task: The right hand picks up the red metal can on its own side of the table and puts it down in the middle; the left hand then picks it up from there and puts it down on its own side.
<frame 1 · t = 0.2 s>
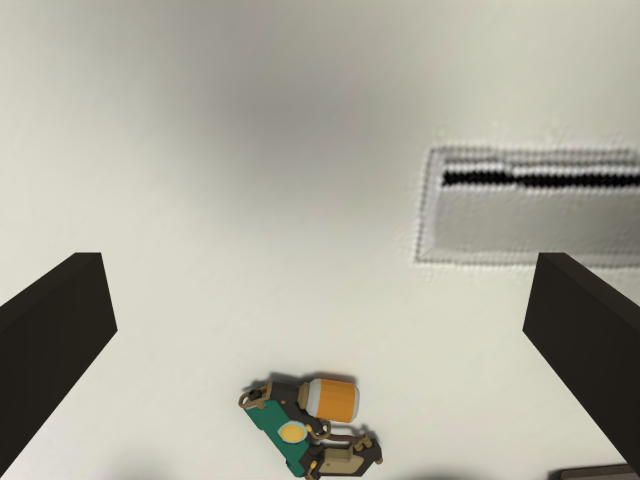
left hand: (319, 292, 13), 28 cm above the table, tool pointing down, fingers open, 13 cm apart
spray gun: (314, 420, 51), on the table
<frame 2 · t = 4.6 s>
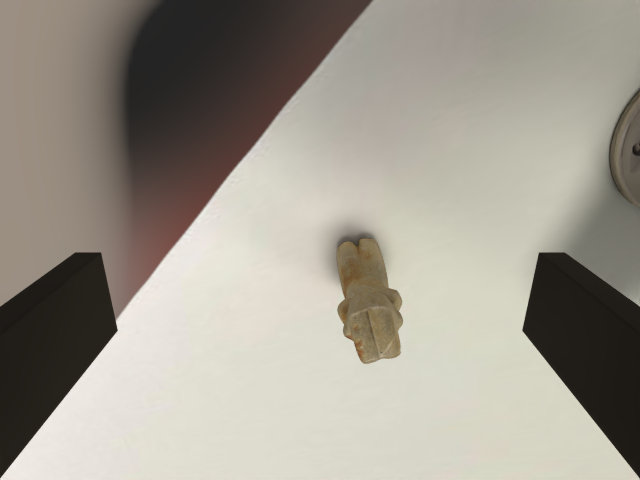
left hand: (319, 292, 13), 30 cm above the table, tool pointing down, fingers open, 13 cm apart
sculpture: (360, 264, 46), on the table
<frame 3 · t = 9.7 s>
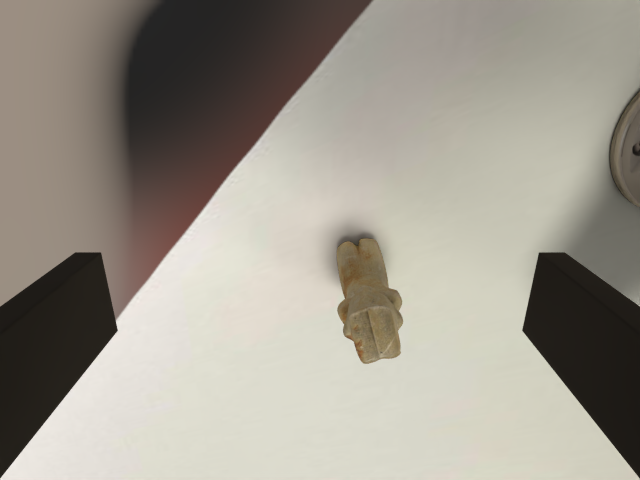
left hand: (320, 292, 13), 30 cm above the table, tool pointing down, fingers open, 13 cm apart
sculpture: (360, 264, 46), on the table
when the right hand's fingers open (4 cm above the table, at t = 15.2 s): can drops 1 cm, on the table.
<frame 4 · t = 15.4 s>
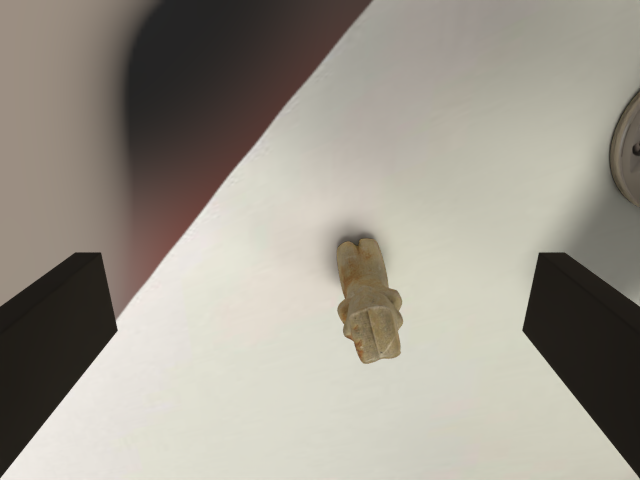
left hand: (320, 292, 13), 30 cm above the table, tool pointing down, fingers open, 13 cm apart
sculpture: (360, 264, 46), on the table
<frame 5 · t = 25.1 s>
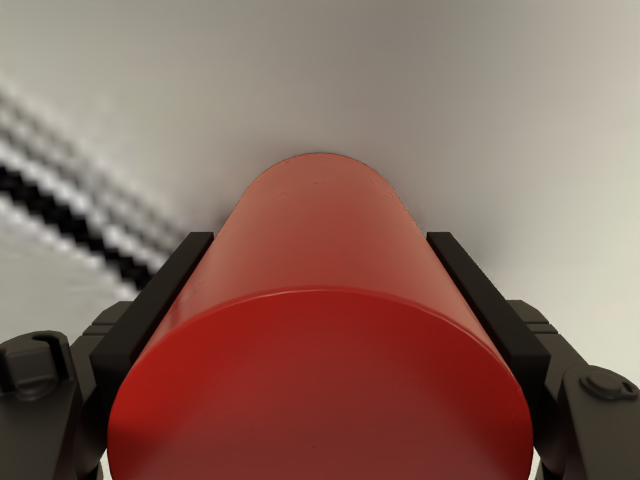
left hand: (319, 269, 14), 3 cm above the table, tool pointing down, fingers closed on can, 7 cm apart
can: (320, 241, 17), on the table, touching left hand
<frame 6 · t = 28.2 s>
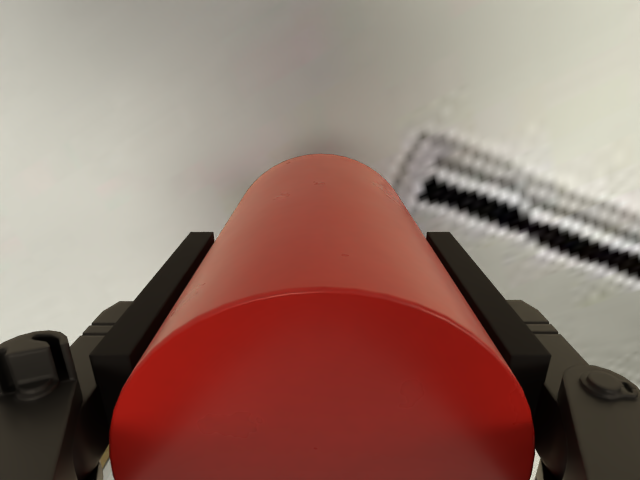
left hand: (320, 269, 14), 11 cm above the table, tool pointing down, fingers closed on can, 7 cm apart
can: (320, 241, 17), point 8 cm above the table, touching left hand
when the left hand's fingers open (4 cm above the table, at t = 31.6 s): can drops 1 cm, on the table.
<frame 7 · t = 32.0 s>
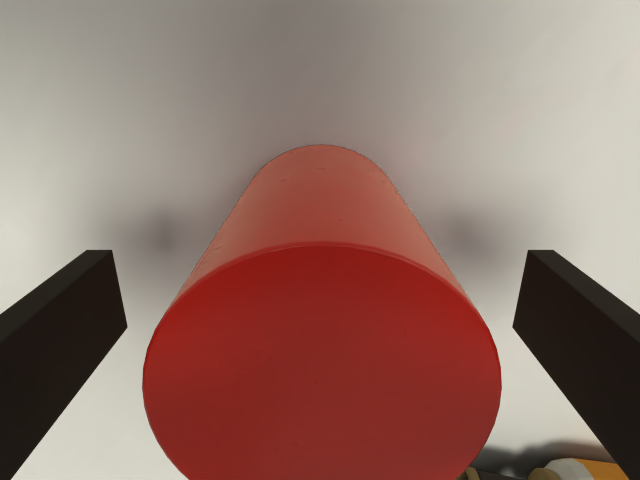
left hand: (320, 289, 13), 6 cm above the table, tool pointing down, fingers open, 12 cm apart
can: (320, 227, 18), on the table
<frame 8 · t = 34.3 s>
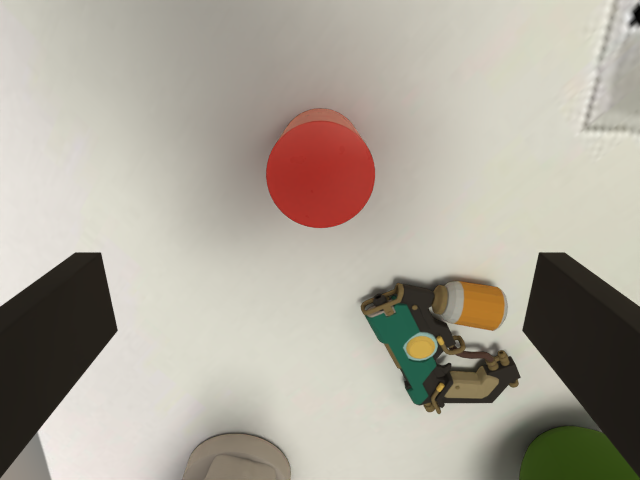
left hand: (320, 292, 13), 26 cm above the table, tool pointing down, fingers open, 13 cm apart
spray gun: (438, 337, 44), on the table
vase: (558, 448, 50), on the table
can: (320, 150, 37), on the table
bust sculpture: (234, 447, 50), on the table
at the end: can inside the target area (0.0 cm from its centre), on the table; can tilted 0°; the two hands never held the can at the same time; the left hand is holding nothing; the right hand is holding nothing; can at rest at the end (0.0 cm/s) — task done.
